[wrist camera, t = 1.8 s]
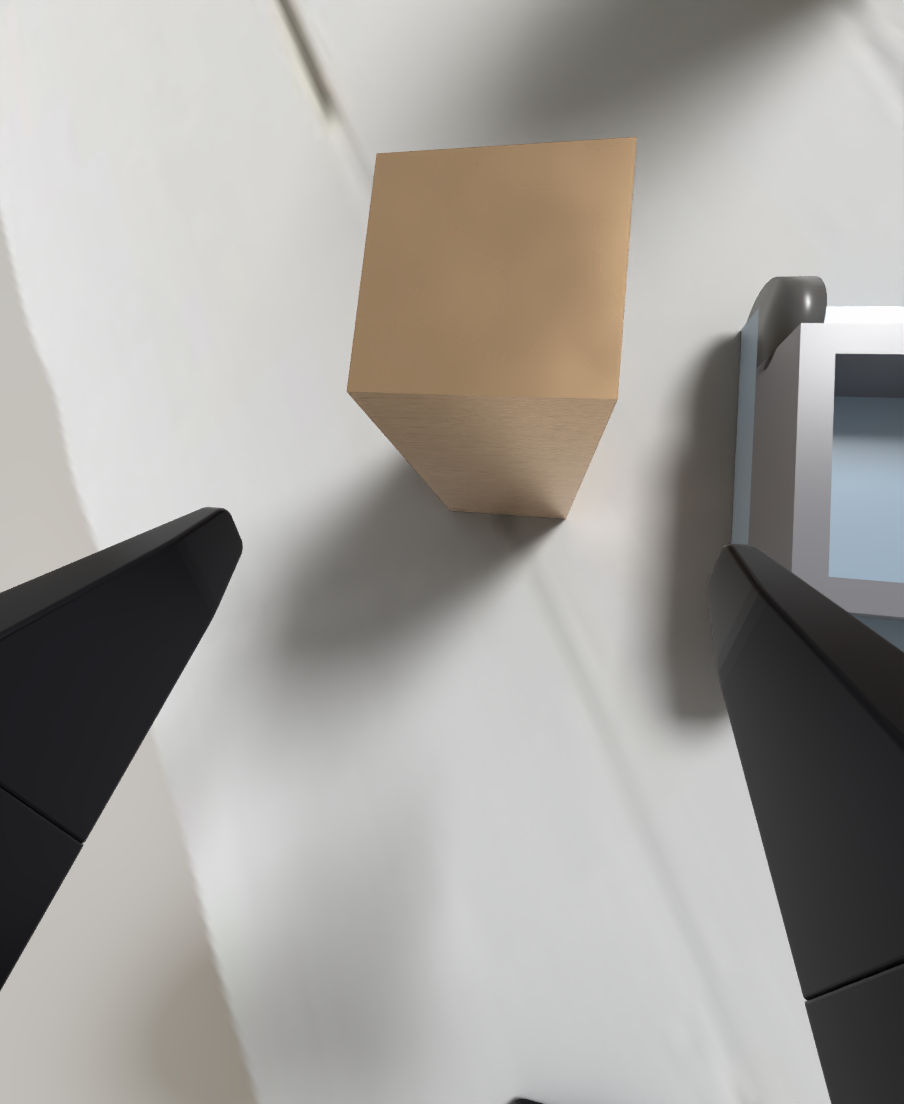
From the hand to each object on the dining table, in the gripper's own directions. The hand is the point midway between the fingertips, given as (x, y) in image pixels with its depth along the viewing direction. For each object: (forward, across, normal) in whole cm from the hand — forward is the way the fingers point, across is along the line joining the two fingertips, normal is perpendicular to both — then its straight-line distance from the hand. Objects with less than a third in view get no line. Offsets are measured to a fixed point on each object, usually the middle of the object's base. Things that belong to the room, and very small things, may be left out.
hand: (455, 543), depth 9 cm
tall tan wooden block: (+12, 0, +5) cm, 13 cm away
